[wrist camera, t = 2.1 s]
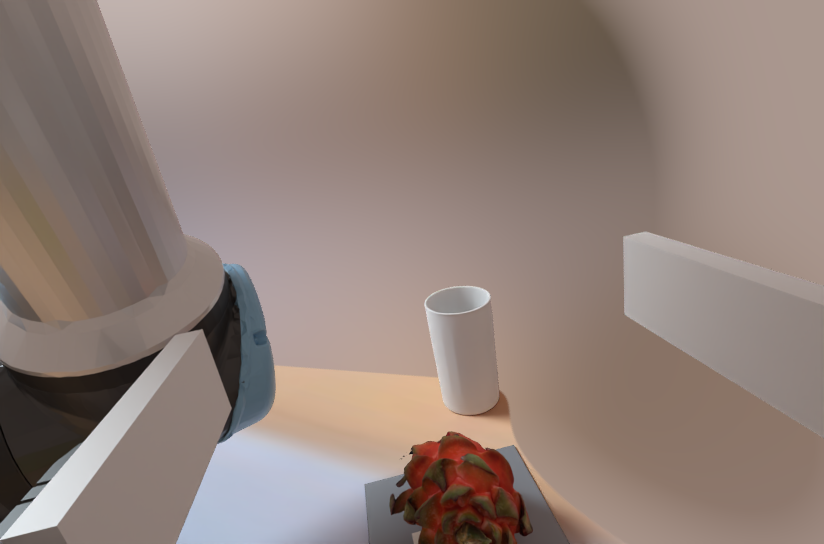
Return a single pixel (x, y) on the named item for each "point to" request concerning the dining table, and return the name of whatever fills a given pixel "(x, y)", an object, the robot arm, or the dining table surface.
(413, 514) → the dragon fruit
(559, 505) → the dining table surface
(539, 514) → the grey square tile
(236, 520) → the dining table surface
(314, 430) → the dining table surface
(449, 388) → the mug
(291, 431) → the dining table surface
